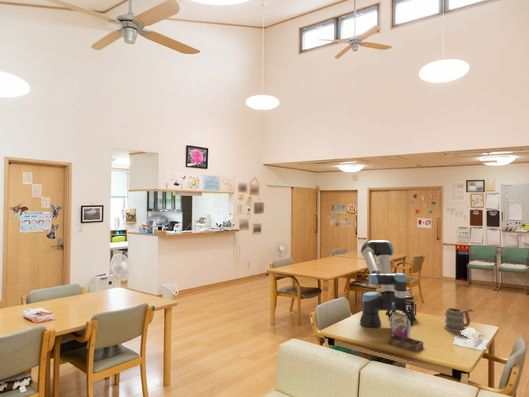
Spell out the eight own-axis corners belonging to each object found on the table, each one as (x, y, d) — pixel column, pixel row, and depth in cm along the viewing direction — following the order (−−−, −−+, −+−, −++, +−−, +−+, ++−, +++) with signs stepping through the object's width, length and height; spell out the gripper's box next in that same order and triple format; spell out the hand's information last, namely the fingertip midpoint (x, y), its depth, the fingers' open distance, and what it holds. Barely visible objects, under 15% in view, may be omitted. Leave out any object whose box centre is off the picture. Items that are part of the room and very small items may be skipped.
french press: (398, 316, 302) (399, 287, 303) (405, 314, 308) (405, 286, 308) (412, 320, 293) (412, 290, 293) (419, 318, 299) (419, 288, 299)
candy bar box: (390, 336, 257) (390, 312, 257) (393, 334, 261) (393, 310, 261) (407, 340, 250) (407, 315, 250) (410, 338, 254) (410, 313, 254)
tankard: (450, 332, 266) (450, 311, 266) (441, 326, 279) (441, 306, 279) (478, 332, 267) (478, 311, 267) (468, 326, 279) (468, 306, 280)
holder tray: (388, 343, 244) (388, 338, 244) (395, 339, 251) (395, 334, 251) (416, 351, 231) (416, 346, 231) (423, 347, 238) (423, 341, 238)
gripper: (380, 294, 262) (380, 325, 261) (416, 301, 244) (416, 334, 244) (386, 292, 267) (386, 323, 267) (421, 299, 249) (421, 331, 249)
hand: (400, 328), depth 255 cm, fingers open, 13 cm apart
